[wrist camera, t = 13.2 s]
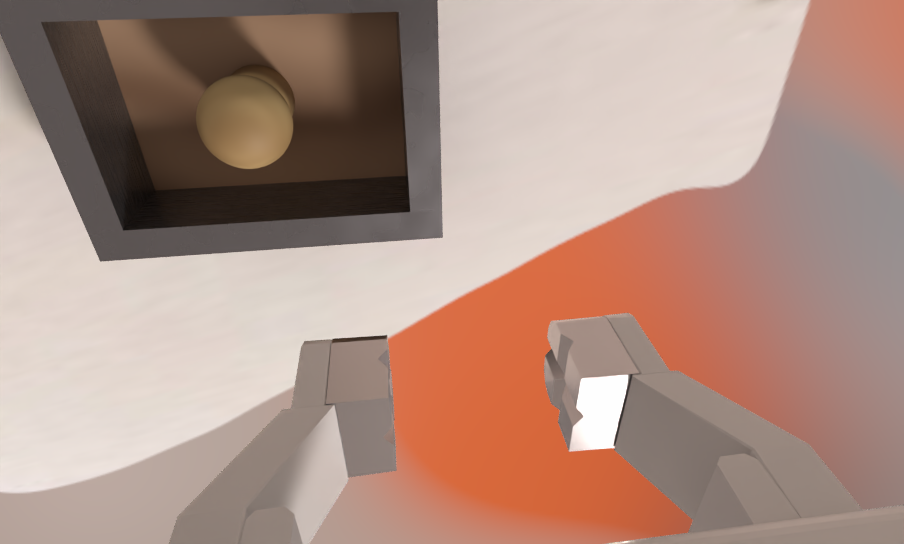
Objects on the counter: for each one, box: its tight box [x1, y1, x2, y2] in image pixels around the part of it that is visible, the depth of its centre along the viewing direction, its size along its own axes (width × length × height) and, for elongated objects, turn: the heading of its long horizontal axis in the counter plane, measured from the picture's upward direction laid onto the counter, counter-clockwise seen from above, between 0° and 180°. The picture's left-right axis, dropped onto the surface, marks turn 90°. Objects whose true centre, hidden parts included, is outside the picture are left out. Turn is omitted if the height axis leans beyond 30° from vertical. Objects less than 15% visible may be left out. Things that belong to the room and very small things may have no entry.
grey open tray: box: [0, 0, 443, 261], centre depth 23 cm, size 11×15×4 cm
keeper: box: [97, 12, 406, 190], centre depth 23 cm, size 14×14×7 cm
